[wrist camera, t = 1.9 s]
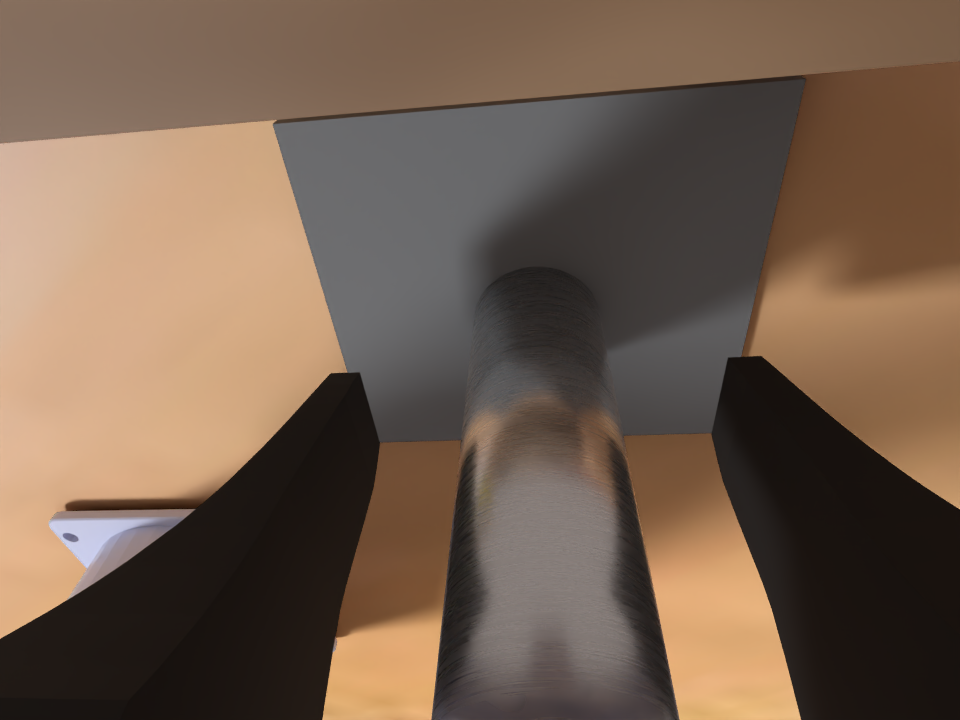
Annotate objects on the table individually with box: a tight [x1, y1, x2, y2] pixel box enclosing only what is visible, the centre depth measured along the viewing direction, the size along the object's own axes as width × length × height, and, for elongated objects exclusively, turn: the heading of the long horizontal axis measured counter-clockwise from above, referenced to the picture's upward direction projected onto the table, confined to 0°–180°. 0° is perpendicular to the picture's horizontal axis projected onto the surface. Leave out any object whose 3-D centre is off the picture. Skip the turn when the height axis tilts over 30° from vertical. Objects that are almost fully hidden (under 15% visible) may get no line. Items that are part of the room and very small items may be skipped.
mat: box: [273, 75, 806, 442], centre depth 14 cm, size 9×10×1 cm
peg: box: [432, 267, 679, 720], centre depth 10 cm, size 3×3×9 cm
